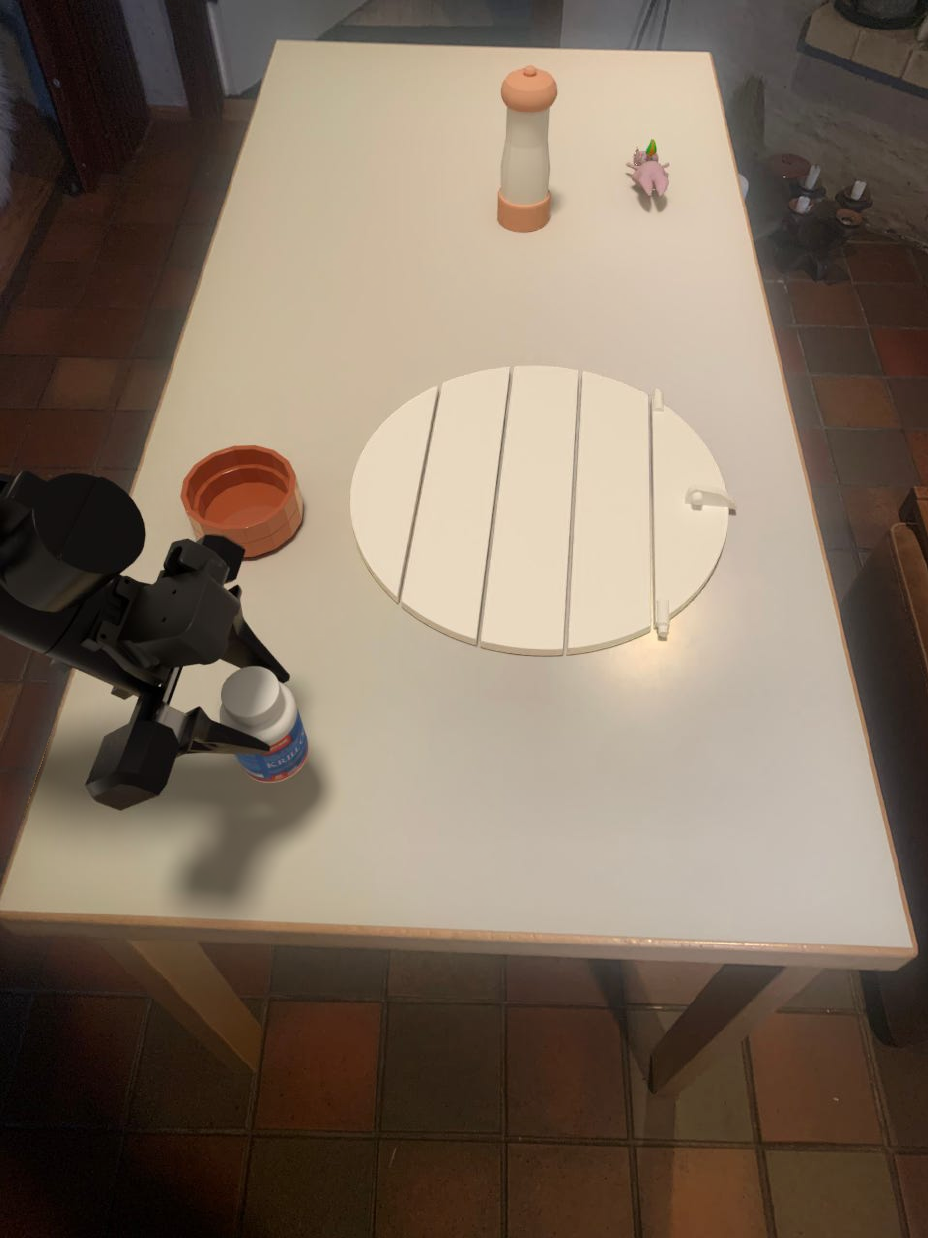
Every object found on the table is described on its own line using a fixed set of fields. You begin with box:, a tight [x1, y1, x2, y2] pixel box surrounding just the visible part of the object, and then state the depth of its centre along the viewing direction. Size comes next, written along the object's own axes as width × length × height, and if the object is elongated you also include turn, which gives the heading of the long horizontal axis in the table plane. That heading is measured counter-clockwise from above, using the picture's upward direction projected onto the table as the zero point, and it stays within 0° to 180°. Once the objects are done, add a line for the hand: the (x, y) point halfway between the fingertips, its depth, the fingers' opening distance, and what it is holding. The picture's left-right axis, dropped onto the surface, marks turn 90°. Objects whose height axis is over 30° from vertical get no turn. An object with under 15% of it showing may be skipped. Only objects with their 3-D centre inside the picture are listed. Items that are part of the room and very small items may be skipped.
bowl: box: [179, 444, 304, 558], centre depth 85 cm, size 11×11×5 cm
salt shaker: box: [496, 64, 558, 233], centre depth 110 cm, size 7×7×19 cm
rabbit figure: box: [625, 138, 670, 197], centre depth 119 cm, size 6×6×15 cm
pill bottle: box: [219, 666, 309, 784], centre depth 61 cm, size 6×5×10 cm
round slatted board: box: [349, 365, 738, 657], centre depth 87 cm, size 40×39×3 cm
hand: (277, 715), depth 60 cm, fingers closed on pill bottle, 5 cm apart
